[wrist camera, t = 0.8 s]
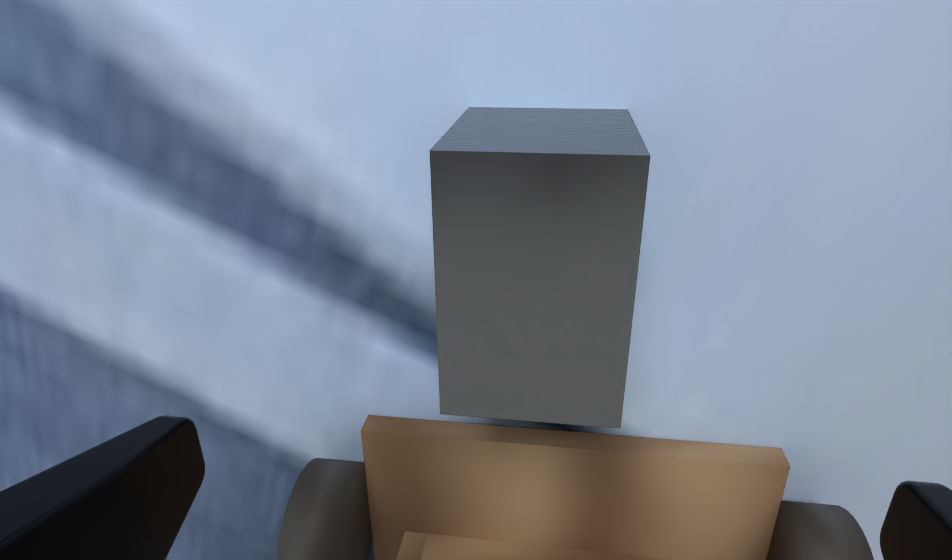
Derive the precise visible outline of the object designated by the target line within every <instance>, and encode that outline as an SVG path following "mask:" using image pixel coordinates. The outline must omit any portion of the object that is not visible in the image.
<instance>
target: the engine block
mask: <svg viewBox="0 0 952 560" xmlns="http://www.w3.org/2000/svg"><path fill="white" fill-rule="evenodd" d="M649 163H650V154H649V152H648V150H647V148H646V146H645V144H644V142H643V140H642V138H641V136H640V133H639V131H638V129H637V127H636V125H635V123H634V121H633V119H632V117H631V115H630V113H629V111H628V109H561V108H492V107H469V108H468V109H467V110H466V111H465V112H464V113H463V114H462V116H461V117H460V118H459V119H458V120H457V121H456V122H455V123H454V124H453V125H452V127H451V128H450V129H449V130H448V131H447V132H446V133H445V134H444V135H443V136H442V138H441V139H440V140H439V141H438V142H437V143H436V144H435V145H434V146H433V147H432V149H431V150H430V168H431V193H432V218H433V243H434V268H435V294H436V319H437V344H438V369H439V394H440V414H446V415H459V416H471V417H484V418H496V419H509V420H522V421H534V422H547V423H559V424H572V425H584V426H597V427H609V428H620V427H621V418H622V409H623V400H624V391H625V382H626V372H627V363H628V354H629V345H630V336H631V327H632V318H633V309H634V300H635V290H636V281H637V272H638V263H639V254H640V245H641V236H642V227H643V218H644V208H645V199H646V190H647V181H648V172H649Z"/></svg>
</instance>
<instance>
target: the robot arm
mask: <svg viewBox="0 0 952 560" xmlns="http://www.w3.org/2000/svg"><path fill="white" fill-rule="evenodd" d="M204 474H205V462H204V458H203V454H202V450H201V445H200V441H199V437H198V433H197V429H196V426H195V423H194V422H193V421H192V420H191V419H190V418H187V417H179V416H168V415H164V416H159V417H156V418H154V419H152V420H150V421H148V422H146V423H144V424H142V425H140V426H137V427H135V428H133V429H131V430H129V431H127V432H125V433H123V434H121V435H118V436H116V437H114V438H112V439H110V440H108V441H106V442H104V443H102V444H99V445H97V446H95V447H93V448H91V449H89V450H87V451H85V452H83V453H81V454H78V455H76V456H74V457H72V458H70V459H68V460H66V461H64V462H62V463H59V464H57V465H55V466H53V467H51V468H49V469H47V470H45V471H43V472H41V473H38V474H36V475H34V476H32V477H30V478H28V479H26V480H24V481H22V482H19V483H17V484H15V485H13V486H11V487H9V488H7V489H5V490H3V491H1V492H0V560H165V559H166V557H167V555H168V553H169V551H170V549H171V547H172V545H173V543H174V540H175V538H176V536H177V534H178V532H179V530H180V528H181V526H182V524H183V522H184V519H185V517H186V515H187V513H188V511H189V509H190V507H191V505H192V503H193V501H194V499H195V496H196V494H197V492H198V490H199V488H200V486H201V484H202V481H203V478H204ZM880 546H881V551H882V555H883V558H884V560H952V490H950V489H949V488H947V487H945V486H944V485H941V484H937V483H928V482H917V481H905V482H902V483H900V484H899V485H898V486H897V488H896V490H895V492H894V495H893V498H892V500H891V503H890V506H889V509H888V512H887V514H886V517H885V520H884V523H883V526H882V528H881V533H880Z"/></svg>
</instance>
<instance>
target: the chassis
mask: <svg viewBox="0 0 952 560" xmlns="http://www.w3.org/2000/svg"><path fill="white" fill-rule="evenodd" d="M361 435H362V444H363V454H364V462H355V461H344V460H333V459H322V458H316V459H313V460H312V461H310V462H309V463H308V464H307V465H306V467H305V468H304V469H303V471H302V472H301V474H300V475H299V477H298V479H297V481H296V483H295V485H294V488H293V490H292V493H291V495H290V498H289V501H288V504H287V507H286V511H285V515H284V518H283V523H282V528H281V533H280V539H279V547H278V559H277V560H368V558H369V554H370V549H371V544H372V538H373V548H374V557H375V560H874V558H873V555H872V552H871V549H870V547H869V544H868V542H867V539H866V537H865V535H864V533H863V531H862V529H861V527H860V526H859V524H858V522H857V521H856V520H855V518H854V517H853V516H852V515H851V514H850V513H849V512H848V511H847V510H846V509H844V508H843V507H840V506H836V505H825V504H814V503H803V502H792V501H781V500H782V496H783V492H784V488H785V484H786V480H787V477H788V473H789V469H790V465H789V463H788V461H787V459H786V457H785V455H784V452H783V450H782V449H780V448H768V447H755V446H743V445H731V444H718V443H706V442H694V441H681V440H669V439H657V438H644V437H632V436H620V435H608V434H595V433H583V432H571V431H558V430H546V429H534V428H521V427H509V426H497V425H484V424H472V423H460V422H447V421H435V420H423V419H410V418H398V417H386V416H373V415H368V417H367V419H366V421H365V423H364V425H363V427H362V429H361Z"/></svg>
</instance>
